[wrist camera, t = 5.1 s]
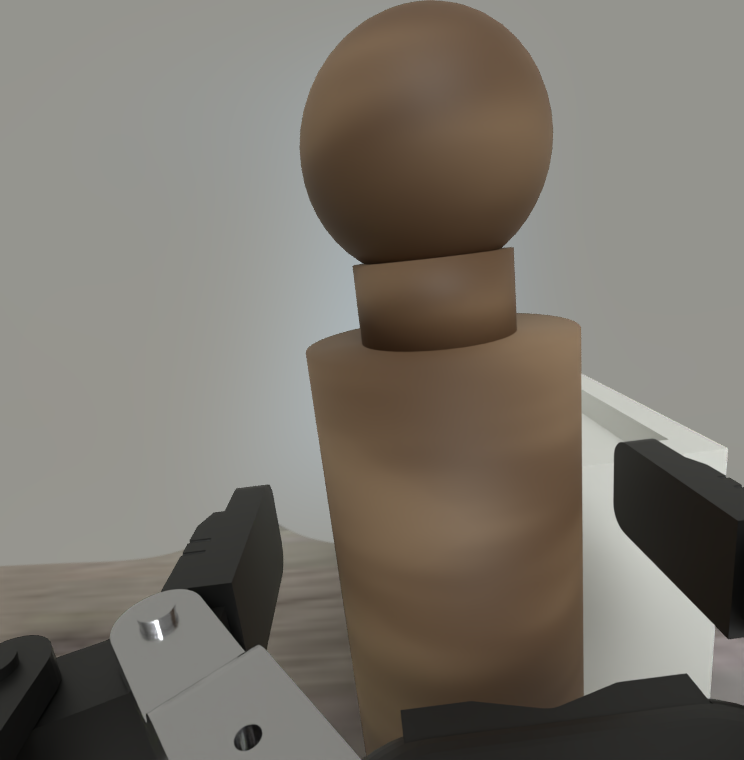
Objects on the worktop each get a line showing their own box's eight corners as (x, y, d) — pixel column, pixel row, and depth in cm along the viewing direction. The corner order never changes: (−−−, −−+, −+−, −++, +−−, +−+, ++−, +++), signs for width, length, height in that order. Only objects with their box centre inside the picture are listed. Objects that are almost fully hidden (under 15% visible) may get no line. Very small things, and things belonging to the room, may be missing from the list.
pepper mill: (400, 1063, 11) (219, -67, 6) (384, 812, 16) (279, 82, 11) (627, 1031, 11) (655, -114, 6) (540, 791, 16) (513, 56, 11)
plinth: (395, 740, 19) (363, 494, 16) (377, 552, 30) (357, 393, 28) (710, 698, 19) (727, 448, 16) (571, 528, 30) (569, 367, 28)
